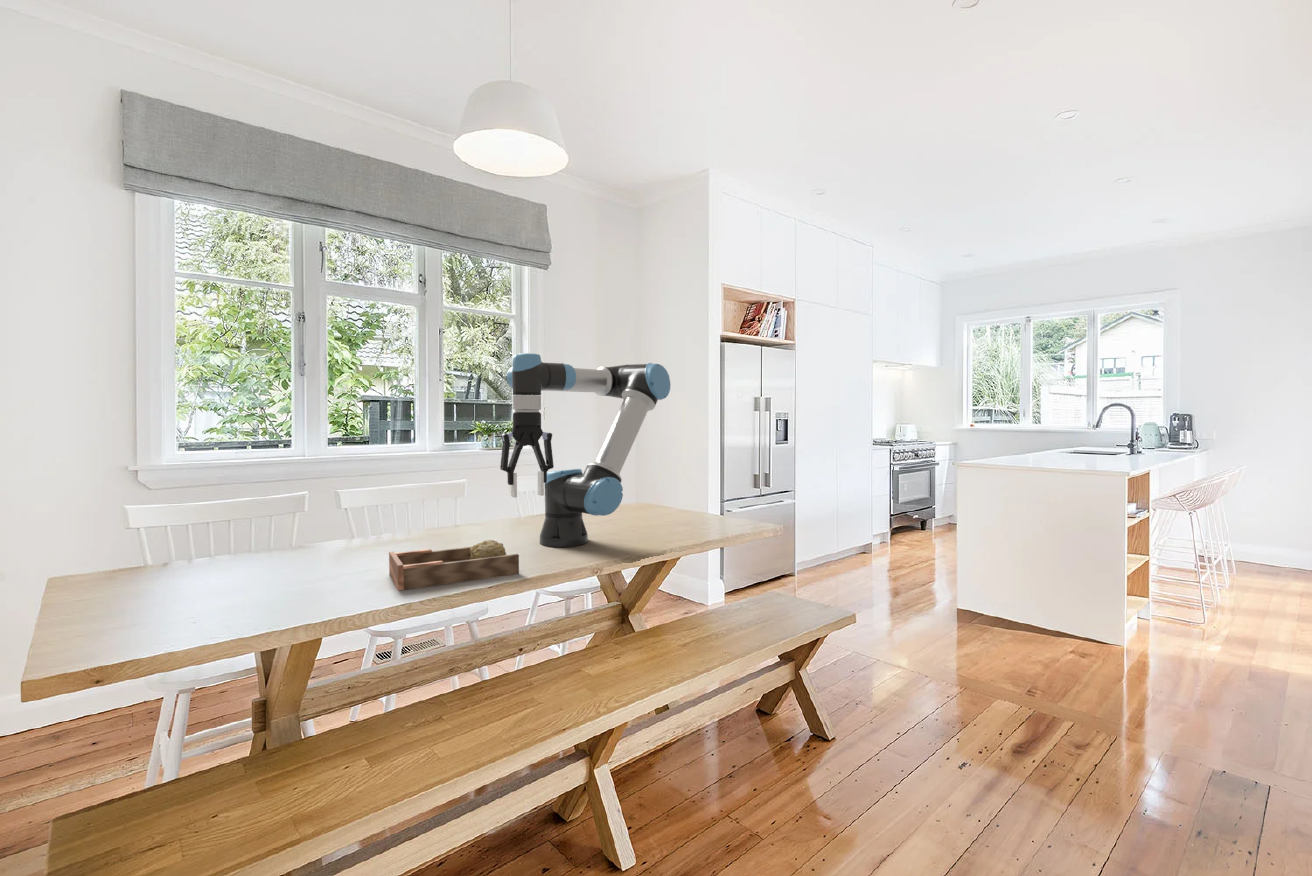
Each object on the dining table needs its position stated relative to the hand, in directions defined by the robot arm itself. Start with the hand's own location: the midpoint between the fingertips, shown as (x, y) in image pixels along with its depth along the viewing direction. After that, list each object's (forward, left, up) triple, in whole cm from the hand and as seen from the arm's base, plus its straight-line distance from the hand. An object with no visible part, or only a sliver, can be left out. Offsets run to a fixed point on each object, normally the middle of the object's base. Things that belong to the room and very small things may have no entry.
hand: (527, 495), depth 169 cm
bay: (+19, 0, -19) cm, 27 cm away
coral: (+11, 0, -19) cm, 22 cm away
